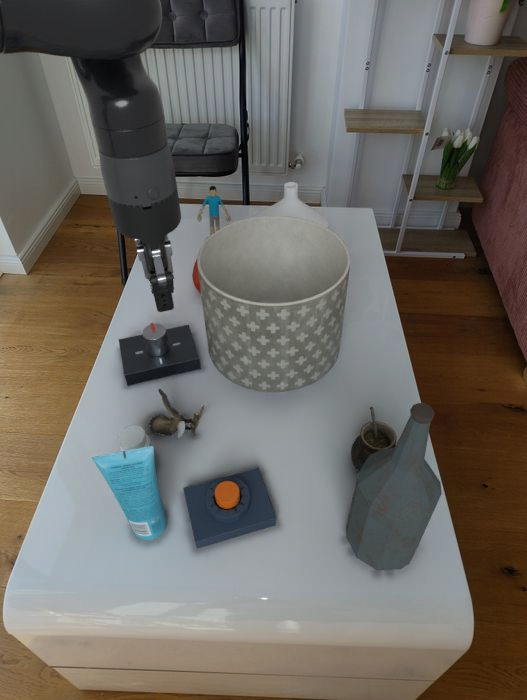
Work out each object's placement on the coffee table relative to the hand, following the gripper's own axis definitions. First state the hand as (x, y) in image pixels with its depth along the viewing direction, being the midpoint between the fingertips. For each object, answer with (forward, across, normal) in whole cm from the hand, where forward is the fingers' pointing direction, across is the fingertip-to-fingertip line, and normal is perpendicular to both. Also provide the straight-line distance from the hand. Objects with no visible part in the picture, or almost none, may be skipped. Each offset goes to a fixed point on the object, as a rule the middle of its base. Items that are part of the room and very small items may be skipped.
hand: (165, 307), depth 68 cm
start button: (+25, +15, +3) cm, 30 cm away
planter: (+29, -14, +19) cm, 38 cm away
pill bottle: (+29, +3, -9) cm, 31 cm away
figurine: (+29, -57, +18) cm, 67 cm away
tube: (+29, +14, -9) cm, 33 cm away
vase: (+29, -44, +33) cm, 62 cm away
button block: (+29, +15, +3) cm, 33 cm away
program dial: (+26, -20, -2) cm, 33 cm away
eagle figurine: (+29, -3, -2) cm, 29 cm away
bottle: (+29, +26, +23) cm, 45 cm away
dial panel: (+29, -20, -2) cm, 35 cm away
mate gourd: (+29, +14, +27) cm, 42 cm away
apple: (+29, -38, +14) cm, 50 cm away
